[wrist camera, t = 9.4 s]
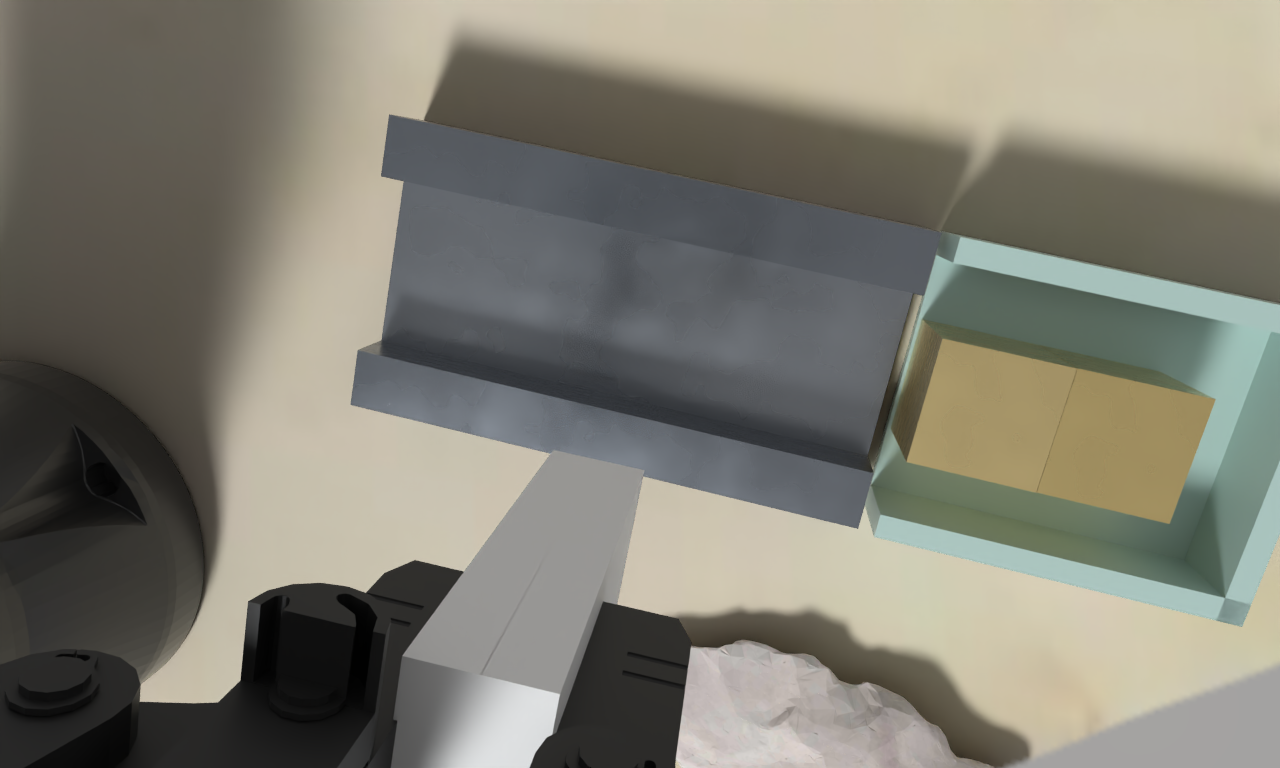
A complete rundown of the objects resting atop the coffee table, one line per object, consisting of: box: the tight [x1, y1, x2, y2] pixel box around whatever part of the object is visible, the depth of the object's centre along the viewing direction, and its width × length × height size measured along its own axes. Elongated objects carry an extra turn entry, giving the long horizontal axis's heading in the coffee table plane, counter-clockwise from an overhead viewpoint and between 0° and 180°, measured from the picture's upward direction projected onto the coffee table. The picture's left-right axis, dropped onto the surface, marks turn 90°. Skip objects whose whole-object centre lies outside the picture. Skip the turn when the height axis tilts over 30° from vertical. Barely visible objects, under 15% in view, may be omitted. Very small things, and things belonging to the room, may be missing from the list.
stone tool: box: [676, 640, 995, 768], centre depth 35 cm, size 8×3×15 cm
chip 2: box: [1037, 345, 1216, 524], centre depth 30 cm, size 4×4×4 cm
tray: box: [865, 231, 1280, 627], centre depth 30 cm, size 12×10×3 cm
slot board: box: [351, 115, 942, 529], centre depth 32 cm, size 18×10×3 cm, turn 78°
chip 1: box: [891, 319, 1077, 493], centre depth 30 cm, size 4×4×4 cm
